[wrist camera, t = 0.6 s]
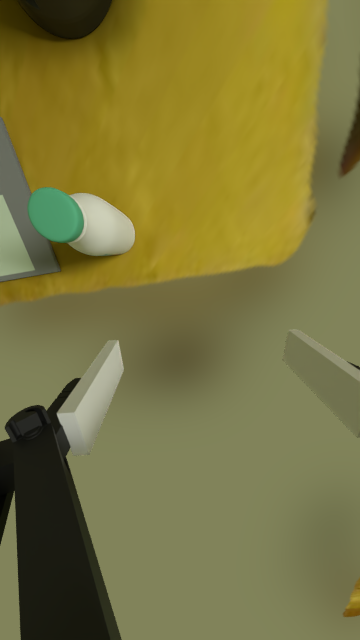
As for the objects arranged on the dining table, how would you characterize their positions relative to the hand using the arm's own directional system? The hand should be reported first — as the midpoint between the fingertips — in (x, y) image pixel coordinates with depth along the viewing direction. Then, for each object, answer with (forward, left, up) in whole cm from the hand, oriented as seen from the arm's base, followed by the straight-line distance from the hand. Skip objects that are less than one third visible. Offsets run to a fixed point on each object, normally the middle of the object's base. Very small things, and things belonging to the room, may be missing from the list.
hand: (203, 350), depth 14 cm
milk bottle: (-12, -12, -27) cm, 32 cm away
